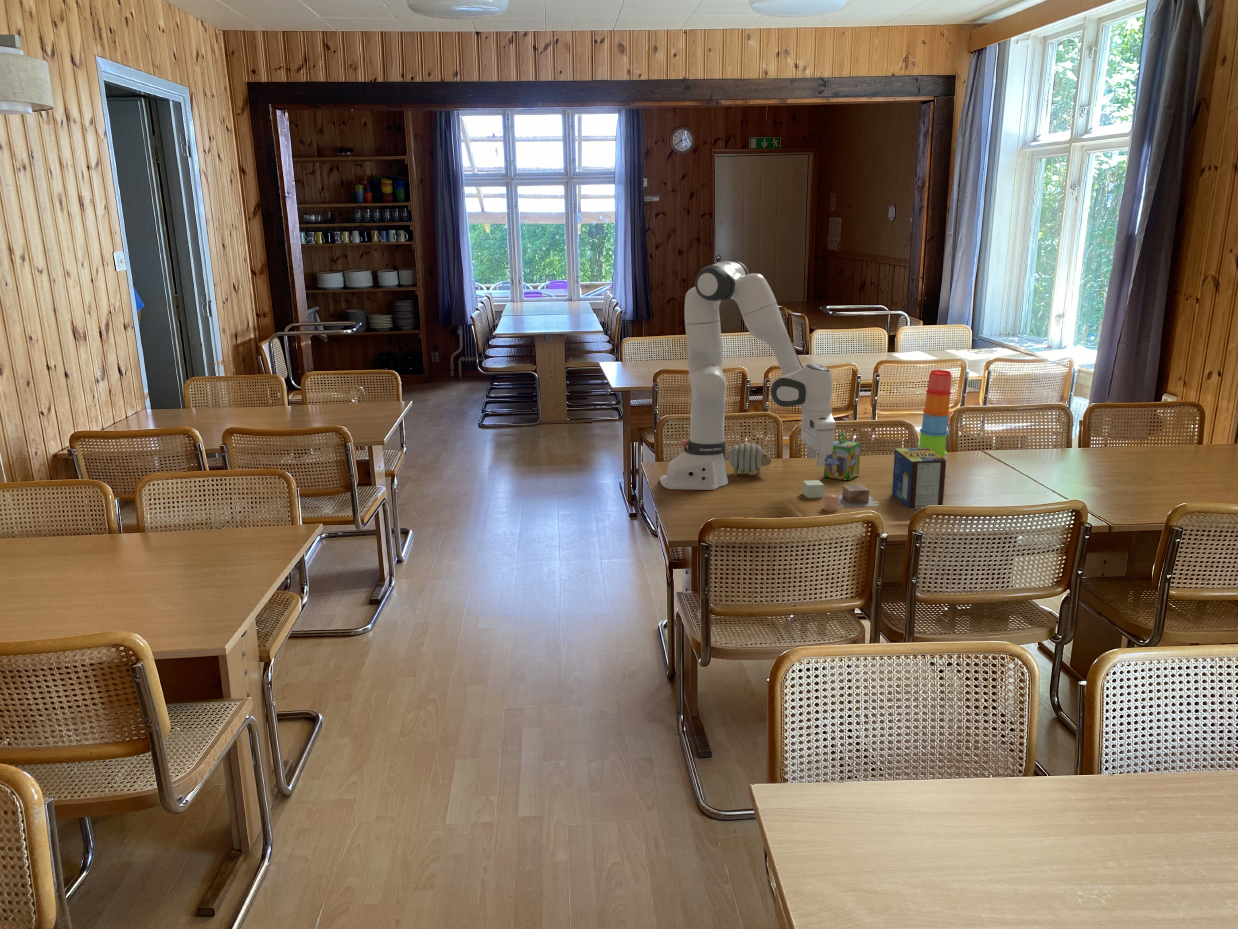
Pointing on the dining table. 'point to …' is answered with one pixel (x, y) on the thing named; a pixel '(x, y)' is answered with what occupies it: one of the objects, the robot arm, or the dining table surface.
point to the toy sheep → (748, 458)
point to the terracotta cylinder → (831, 502)
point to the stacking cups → (936, 412)
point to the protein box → (918, 477)
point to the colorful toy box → (843, 459)
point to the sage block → (813, 489)
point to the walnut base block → (855, 494)
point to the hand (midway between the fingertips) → (815, 462)
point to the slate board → (846, 504)
